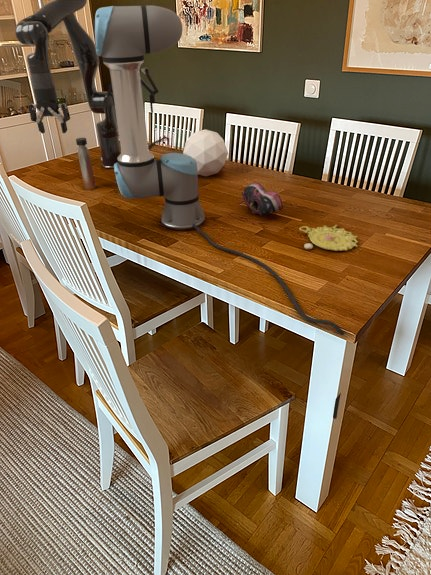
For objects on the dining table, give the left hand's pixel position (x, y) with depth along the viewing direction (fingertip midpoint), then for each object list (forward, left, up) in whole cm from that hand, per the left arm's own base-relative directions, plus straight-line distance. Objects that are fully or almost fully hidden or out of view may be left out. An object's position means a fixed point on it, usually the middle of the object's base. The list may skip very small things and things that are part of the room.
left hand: (53, 132), depth 167 cm
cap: (-10, +6, -5) cm, 13 cm away
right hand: (-21, +26, +3) cm, 34 cm away
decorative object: (+33, +101, -25) cm, 110 cm away
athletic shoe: (+11, +78, -25) cm, 83 cm away
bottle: (-10, +6, -25) cm, 28 cm away
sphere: (-30, +53, -25) cm, 66 cm away
